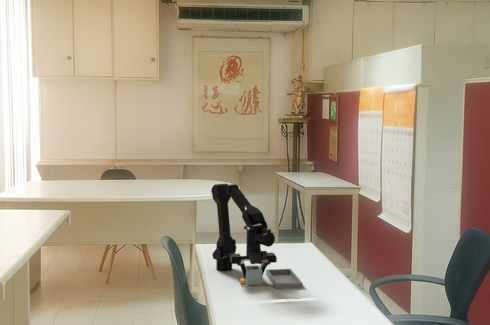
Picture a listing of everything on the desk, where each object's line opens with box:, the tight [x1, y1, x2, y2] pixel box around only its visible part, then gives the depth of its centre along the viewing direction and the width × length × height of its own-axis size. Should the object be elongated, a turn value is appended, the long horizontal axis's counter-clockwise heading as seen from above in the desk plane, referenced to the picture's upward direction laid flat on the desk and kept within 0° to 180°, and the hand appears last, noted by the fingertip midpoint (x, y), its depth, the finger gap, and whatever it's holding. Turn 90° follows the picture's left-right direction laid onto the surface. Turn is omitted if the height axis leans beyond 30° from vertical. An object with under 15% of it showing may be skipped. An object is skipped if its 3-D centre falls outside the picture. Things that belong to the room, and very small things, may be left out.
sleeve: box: [239, 264, 263, 285], centre depth 205 cm, size 8×6×6 cm
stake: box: [237, 265, 269, 288], centre depth 205 cm, size 11×11×8 cm
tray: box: [265, 268, 304, 290], centre depth 208 cm, size 11×19×3 cm, turn 9°
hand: (252, 278), depth 205 cm, fingers closed on sleeve, 6 cm apart
